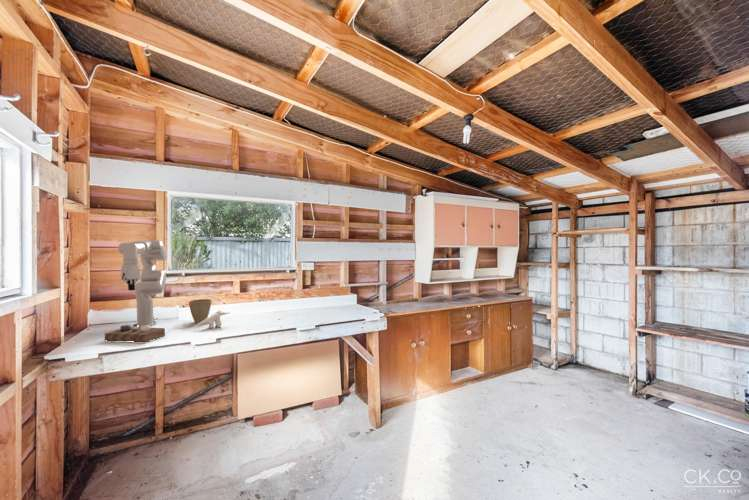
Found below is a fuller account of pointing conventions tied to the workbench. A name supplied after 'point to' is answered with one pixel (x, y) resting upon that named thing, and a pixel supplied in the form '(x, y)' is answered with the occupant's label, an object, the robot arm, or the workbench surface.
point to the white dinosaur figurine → (213, 319)
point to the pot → (135, 327)
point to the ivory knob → (145, 328)
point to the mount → (135, 335)
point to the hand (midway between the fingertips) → (131, 290)
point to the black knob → (125, 328)
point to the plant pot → (200, 309)
